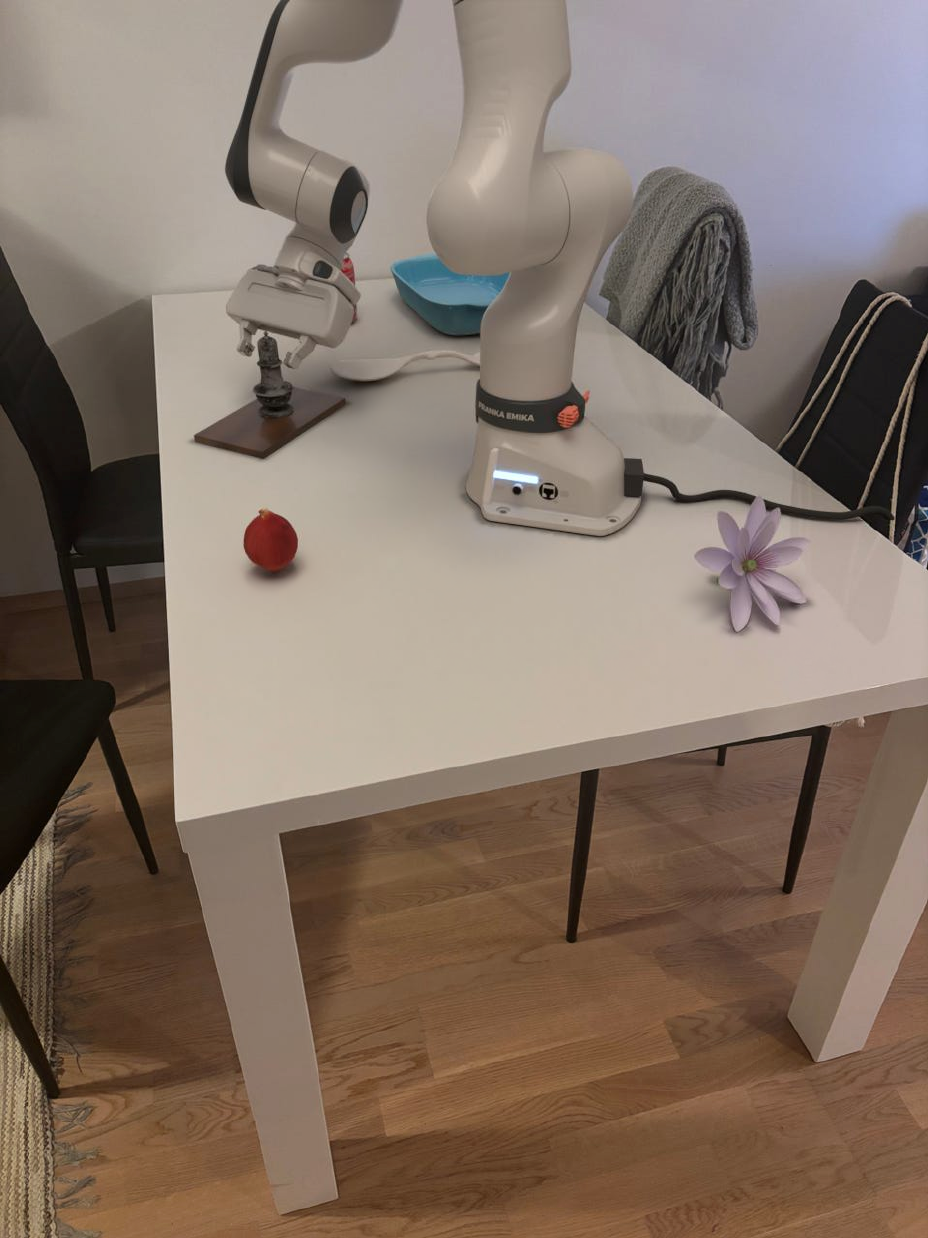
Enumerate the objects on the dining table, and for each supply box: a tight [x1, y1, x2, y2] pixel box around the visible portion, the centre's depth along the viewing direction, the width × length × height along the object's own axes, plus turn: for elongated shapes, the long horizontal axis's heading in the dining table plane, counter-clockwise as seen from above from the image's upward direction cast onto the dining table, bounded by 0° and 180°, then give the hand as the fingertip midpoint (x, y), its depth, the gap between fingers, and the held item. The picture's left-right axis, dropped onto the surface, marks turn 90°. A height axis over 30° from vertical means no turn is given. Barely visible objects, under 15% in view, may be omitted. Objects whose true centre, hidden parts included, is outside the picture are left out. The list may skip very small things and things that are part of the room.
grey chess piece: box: [252, 331, 294, 418], centre depth 130 cm, size 6×6×12 cm
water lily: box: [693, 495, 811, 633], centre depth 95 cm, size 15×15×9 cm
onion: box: [242, 507, 299, 573], centre depth 98 cm, size 6×6×8 cm
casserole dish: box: [389, 252, 510, 336], centre depth 171 cm, size 37×22×7 cm, turn 21°
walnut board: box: [193, 386, 347, 459], centre depth 132 cm, size 12×21×1 cm, turn 154°
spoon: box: [328, 349, 480, 382], centre depth 147 cm, size 9×32×4 cm, turn 104°
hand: (266, 360), depth 128 cm, fingers open, 8 cm apart
